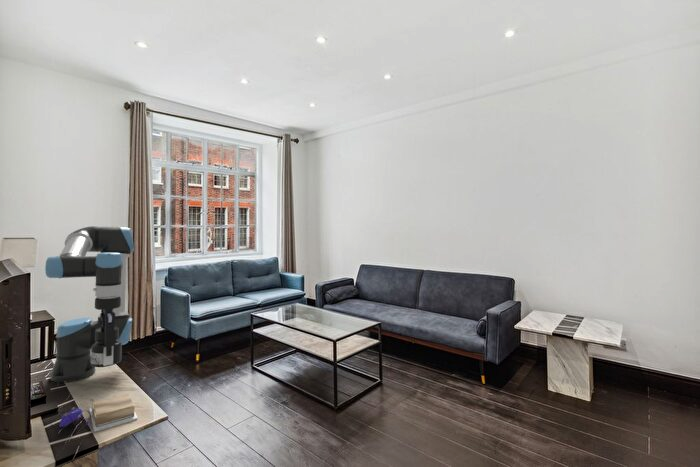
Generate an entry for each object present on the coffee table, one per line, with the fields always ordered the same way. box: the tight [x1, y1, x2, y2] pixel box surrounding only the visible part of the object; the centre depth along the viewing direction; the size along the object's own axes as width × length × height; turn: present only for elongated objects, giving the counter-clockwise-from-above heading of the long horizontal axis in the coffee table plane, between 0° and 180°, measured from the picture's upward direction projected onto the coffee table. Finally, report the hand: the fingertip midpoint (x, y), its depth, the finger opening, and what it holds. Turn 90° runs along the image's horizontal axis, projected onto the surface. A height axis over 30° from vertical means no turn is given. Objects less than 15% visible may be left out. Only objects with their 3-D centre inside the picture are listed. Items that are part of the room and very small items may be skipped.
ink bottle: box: [91, 327, 123, 368], centre depth 123 cm, size 10×9×12 cm
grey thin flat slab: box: [88, 407, 138, 432], centre depth 122 cm, size 16×12×1 cm
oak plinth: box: [91, 393, 135, 426], centre depth 122 cm, size 11×11×3 cm
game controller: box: [50, 407, 91, 433], centre depth 114 cm, size 10×8×10 cm
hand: (106, 360), depth 123 cm, fingers closed on ink bottle, 9 cm apart
